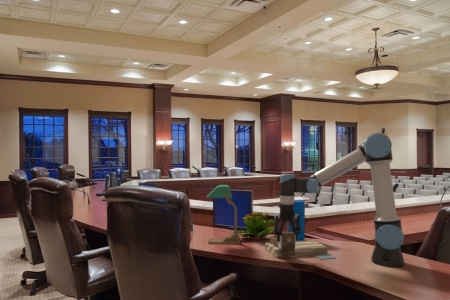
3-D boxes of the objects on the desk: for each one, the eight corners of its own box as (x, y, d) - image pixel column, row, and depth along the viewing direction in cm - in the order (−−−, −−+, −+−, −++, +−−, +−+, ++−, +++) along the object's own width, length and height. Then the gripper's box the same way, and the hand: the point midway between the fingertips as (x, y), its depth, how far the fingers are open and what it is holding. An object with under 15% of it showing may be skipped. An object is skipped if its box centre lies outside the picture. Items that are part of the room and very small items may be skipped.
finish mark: (336, 258, 185) (336, 257, 185) (320, 259, 183) (320, 258, 183) (328, 254, 192) (328, 253, 192) (313, 255, 190) (313, 254, 190)
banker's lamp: (240, 245, 211) (240, 186, 211) (205, 245, 211) (206, 186, 212) (239, 239, 226) (240, 184, 227) (207, 239, 227) (207, 184, 228)
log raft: (327, 254, 193) (327, 247, 193) (276, 257, 185) (276, 250, 186) (313, 247, 208) (313, 240, 208) (265, 250, 201) (265, 242, 201)
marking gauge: (295, 255, 182) (295, 233, 182) (283, 256, 180) (283, 234, 181) (279, 246, 203) (279, 225, 203) (268, 246, 201) (268, 226, 201)
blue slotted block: (304, 242, 220) (304, 202, 220) (287, 241, 222) (287, 201, 223) (304, 238, 230) (304, 200, 231) (287, 237, 233) (287, 199, 233)
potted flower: (245, 232, 247) (246, 207, 248) (279, 235, 239) (279, 209, 240) (234, 240, 224) (234, 212, 224) (271, 243, 216) (271, 215, 216)
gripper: (301, 202, 191) (301, 245, 191) (266, 203, 186) (266, 246, 186) (307, 204, 184) (307, 248, 183) (271, 204, 179) (271, 250, 178)
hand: (286, 247), depth 184 cm, fingers closed on marking gauge, 7 cm apart
